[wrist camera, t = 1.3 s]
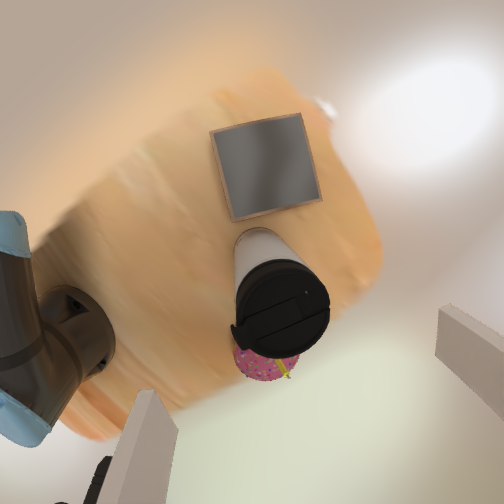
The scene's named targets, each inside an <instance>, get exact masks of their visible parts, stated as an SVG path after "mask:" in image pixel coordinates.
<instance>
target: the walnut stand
mask: <svg viewBox="0 0 504 504" xmlns="http://www.w3.org/2000/svg"><path fill="white" fill-rule="evenodd" d="M209 133H210V137H211V141H212V145H213V149H214V153H215V157H216V161H217V165H218V169H219V173H220V177H221V181H222V185H223V189H224V193H225V197H226V201H227V205H228V208H229V212H230V216H231V220H232V223H233V222H237V221H241V220H245V219H249V218H253V217H257V216H261V215H265V214H269V213H273V212H277V211H282V210H286V209H290V208H294V207H298V206H303V205H307V204H311V203H316V202H320V201H323V200H322V195H321V190H320V186H319V182H318V177H317V173H316V169H315V165H314V160H313V156H312V152H311V149H310V145H309V141H308V137H307V133H306V130H305V126H304V122H303V119H302V115H301V113H296V114H289V115H283V116H278V117H272V118H267V119H262V120H257V121H252V122H247V123H243V124H238V125H234V126H230V127H226V128H222V129H218V130H214V131H210V132H209Z"/></svg>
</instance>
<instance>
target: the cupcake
mask: <svg viewBox="0 0 504 504" xmlns="http://www.w3.org/2000/svg"><path fill="white" fill-rule="evenodd" d="M233 355H234V359H235V363H236V365H237V366H238V368H239V369H240V370H241V372H243V373H244V374H245V375H246V377H247V376H248V377H250V378H253V379H255V380H259V381H272V380H276V379H278V378H281V376H284V377H285V378H287V377H288V378H290V377H289V371H290V370H291V369H293V367H294V366H295V364H296V362H297V361H298V359H299V355H300V354H299V355H296V356H294V357H290V358H285V359H271V358H266V357H263V356H260V355H258V354H256V353H254V352H253V351H252V350H250V349H248V350H245V351H242V350H241V349H240V347H239V346H238V344H237V343H236V341H235V345H234V348H233Z"/></svg>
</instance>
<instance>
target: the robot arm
mask: <svg viewBox="0 0 504 504" xmlns="http://www.w3.org/2000/svg"><path fill="white" fill-rule="evenodd" d="M31 258H32V253H31V252H30V249H29V242H28V235H27V226H26V222H25V220H24V218H23V217H22V216H21V215H20V214H19V213H17V212H15V211H0V434H2V435H3V436H5V437H6V438H8V439H9V440H11V441H13V442H14V443H16V444H18V445H21V446H24V447H28V448H32V447H36V446H38V445H39V444H41V442H42V441H43V439H44V438H45V437H46V435H47V434H48V433H50V432H51V431H52V427H53V426H54V425H55V423H56V421H57V420H58V418H59V416H60V415H61V413H62V412H63V410H64V408H65V407H66V405H67V404H68V402H69V400H70V399H71V397H72V396H73V394H74V393H75V391H76V389H77V388H78V387H79V385H80V384H81V383H83V382H84V381H86V380H88V379H90V378H92V377H93V376H95V375H97V374H99V373H100V372H102V371H103V370H104V369H105V368H106V366H107V365H108V363H109V362H110V360H111V359H112V357H113V354H114V351H115V337H114V333H113V329H112V326H111V324H110V322H109V320H108V318H107V316H106V314H105V313H104V311H103V310H102V309H101V307H100V306H99V305H98V304H97V303H96V302H95V301H94V300H93V299H92V298H91V297H90V296H88V295H87V294H86V293H84V292H82V291H81V290H79V289H76V288H74V287H70V286H57V287H54V288H52V289H50V290H49V291H47V292H45V293H44V294H43V295H42V296H41V297H40V298H39V299H38V300H37V296H36V291H35V286H34V280H33V273H32V265H31ZM437 331H438V332H437V341H436V351H435V356H436V357H437V358H438V359H440V360H441V361H442V362H443V363H444V364H445V365H446V366H447V367H448V368H449V369H451V371H453V372H454V373H455V374H456V375H457V376H458V377H459V378H460V379H461V380H462V381H463V382H465V384H466V385H468V386H469V387H470V388H471V389H472V390H473V391H474V392H475V393H476V394H477V395H478V396H479V397H480V398H481V399H482V400H483V401H484V402H485V403H486V404H487V405H488V406H490V408H491V409H492V410H493V411H494V412H495V413H497V414H498V416H499V417H500V418H501V419H502V420H503V421H504V337H503V336H502V335H500V334H499V333H497V332H495V331H494V330H492V329H491V328H489V327H488V326H486V325H485V324H483V323H481V322H480V321H478V320H476V319H475V318H473V317H472V316H470V315H469V314H467V313H465V312H463V311H462V310H460V309H459V308H457V307H455V306H454V305H452V304H448V305H446V306H443V307H441V308H439V316H438V330H437ZM177 433H178V428H177V427H176V425H175V424H174V422H173V421H172V419H171V417H170V415H169V414H168V412H167V410H166V409H165V407H164V405H163V404H162V402H161V400H160V398H159V397H158V395H157V393H156V391H155V389H150V390H139V392H138V395H137V397H136V400H135V402H134V404H133V407H132V409H131V412H130V414H129V417H128V419H127V422H126V424H125V427H124V429H123V432H122V434H121V437H120V439H119V442H118V445H117V447H116V450H115V452H114V455H113V456H105V457H104V458H103V460H102V461H101V462H100V463H99V464H98V466H97V469H96V471H95V474H94V475H95V476H94V477H93V479H92V481H91V482H92V484H91V485H90V487H89V489H88V492H87V495H86V497H85V500H84V503H83V504H165V502H166V496H167V490H168V484H169V477H170V472H171V466H172V461H173V455H174V450H175V444H176V439H177ZM55 504H68V503H64V502H58V503H55Z"/></svg>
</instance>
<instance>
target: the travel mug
mask: <svg viewBox="0 0 504 504" xmlns="http://www.w3.org/2000/svg"><path fill="white" fill-rule="evenodd" d="M234 281H235V307H236V327H234V325H233V324H232V325H231V331H232V334H233V337H234V339H235V341H236V343H237V344H238V346H239V347H240V349H241V350H242V351H245V350H248V349H250V350H252V351H253V352H254V353H256V354H258V355H260V356H263V357H266V358H271V359H285V358H290V357H294V356H296V355H299V354H301V353H303V352H305V351H306V350H308V349H309V348H311V347H312V346H313V345H314V344H315V343H316V342H317V341H318V340H319V339H320V338H321V336H322V335H323V333H324V332H325V330H326V328H327V326H328V323H329V320H330V308H329V306H330V299H329V294H328V292H327V290H326V288H325V286H324V285H323V284H322V282H321V281H320V280H319V279H318V277H317V276H316V275H315V274H314V272H313V271H312V270H311V269H310V268H309V267H308V266H307V265H306V264H305V263H304V262H303V261H302V260H301V259H300V258H299V257H298V256H297V254H296V253H295V252H294V251H293V250H292V249H291V248H290V247H289V246H288V245H287V244H286V243H285V242H284V241H283V240H282V239H281V238H280V237H279V236H278V235H277V234H275V233H274V232H273V231H271V230H269V229H266V228H260V227H259V228H252V229H249V230H247V231H246V232H244V233H243V234H242V235H241V236H240V237H239V238H238V240H237V242H236V245H235V249H234Z"/></svg>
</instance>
